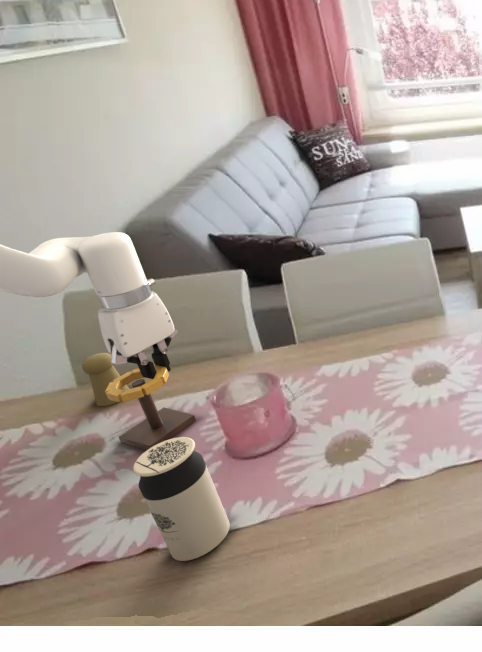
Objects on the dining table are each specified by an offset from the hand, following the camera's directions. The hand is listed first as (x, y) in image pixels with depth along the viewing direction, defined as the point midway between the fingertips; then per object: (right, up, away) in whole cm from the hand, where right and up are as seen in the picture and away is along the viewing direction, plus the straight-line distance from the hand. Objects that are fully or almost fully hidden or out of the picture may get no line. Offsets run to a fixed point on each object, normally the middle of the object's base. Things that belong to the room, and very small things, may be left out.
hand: (157, 373), depth 110 cm
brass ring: (-1, -2, -3) cm, 4 cm away
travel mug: (+26, -21, -23) cm, 40 cm away
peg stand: (-1, -12, +1) cm, 12 cm away
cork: (-20, -9, +12) cm, 25 cm away
